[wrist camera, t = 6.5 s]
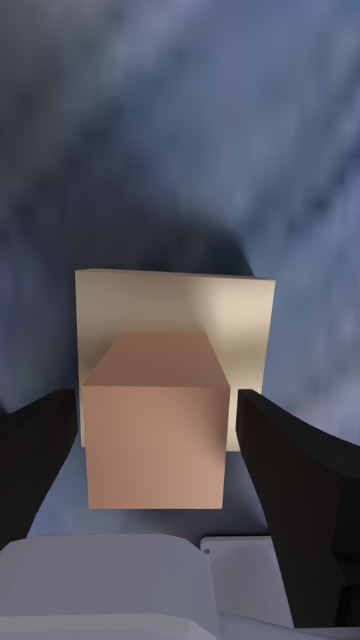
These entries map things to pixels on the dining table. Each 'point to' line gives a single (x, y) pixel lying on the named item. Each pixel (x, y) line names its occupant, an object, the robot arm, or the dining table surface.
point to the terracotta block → (156, 424)
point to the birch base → (177, 320)
